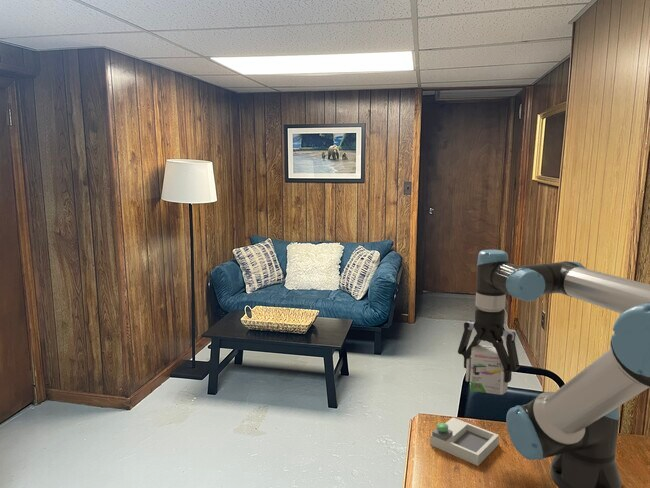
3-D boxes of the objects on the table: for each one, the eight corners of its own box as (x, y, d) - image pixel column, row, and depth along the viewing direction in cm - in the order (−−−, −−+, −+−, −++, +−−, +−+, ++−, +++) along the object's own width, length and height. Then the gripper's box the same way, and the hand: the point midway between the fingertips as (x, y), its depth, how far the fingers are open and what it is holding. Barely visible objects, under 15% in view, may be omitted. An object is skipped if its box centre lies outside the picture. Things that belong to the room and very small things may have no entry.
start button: (449, 433, 132) (450, 425, 132) (444, 438, 130) (444, 429, 129) (440, 429, 134) (440, 421, 134) (434, 434, 132) (434, 425, 131)
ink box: (469, 391, 130) (471, 350, 128) (469, 383, 135) (471, 343, 133) (503, 395, 128) (505, 354, 126) (501, 387, 132) (504, 346, 130)
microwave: (498, 444, 132) (499, 431, 131) (477, 465, 123) (478, 451, 123) (452, 426, 142) (452, 413, 141) (430, 444, 133) (430, 431, 132)
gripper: (537, 313, 122) (532, 395, 126) (460, 296, 138) (457, 369, 142) (524, 321, 117) (519, 405, 121) (446, 301, 132) (443, 377, 137)
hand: (486, 385), depth 131 cm, fingers closed on ink box, 9 cm apart
